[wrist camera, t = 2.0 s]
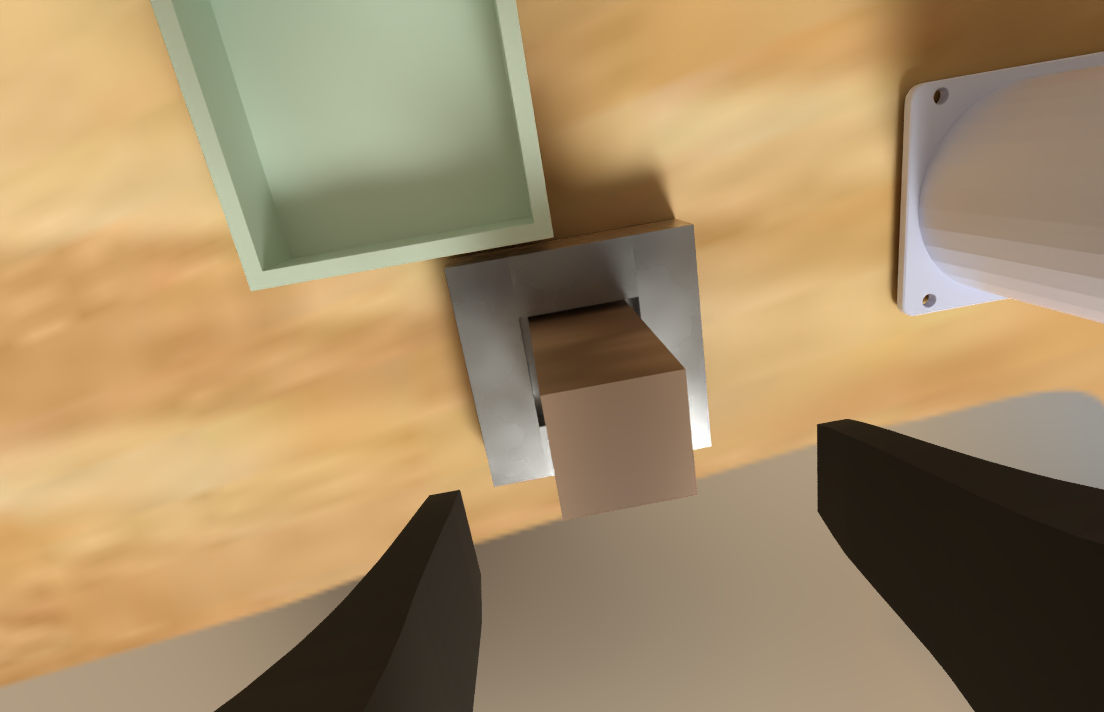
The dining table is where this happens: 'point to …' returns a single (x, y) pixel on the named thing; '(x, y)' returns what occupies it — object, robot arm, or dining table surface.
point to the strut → (612, 410)
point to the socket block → (559, 285)
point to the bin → (360, 129)
